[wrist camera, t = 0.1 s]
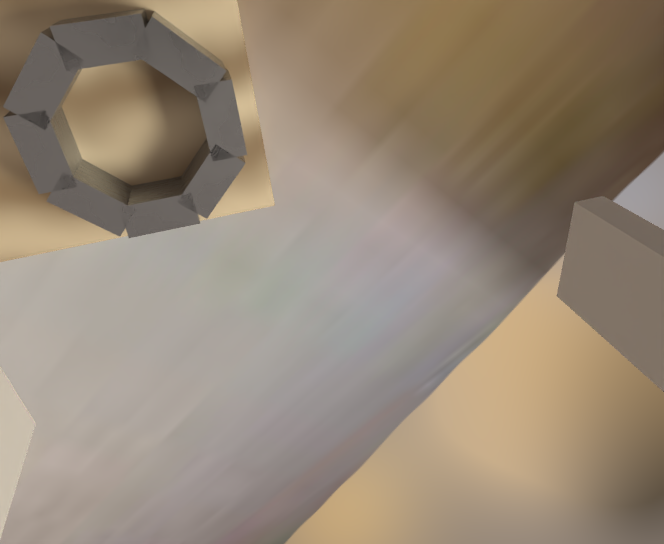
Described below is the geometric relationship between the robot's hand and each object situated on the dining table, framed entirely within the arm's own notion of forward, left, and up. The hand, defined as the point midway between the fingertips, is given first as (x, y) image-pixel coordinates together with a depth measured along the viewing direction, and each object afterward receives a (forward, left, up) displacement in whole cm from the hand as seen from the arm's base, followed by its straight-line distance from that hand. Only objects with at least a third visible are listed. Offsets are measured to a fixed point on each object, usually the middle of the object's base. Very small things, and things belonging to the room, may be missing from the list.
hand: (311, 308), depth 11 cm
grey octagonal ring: (+2, -6, -27) cm, 28 cm away
